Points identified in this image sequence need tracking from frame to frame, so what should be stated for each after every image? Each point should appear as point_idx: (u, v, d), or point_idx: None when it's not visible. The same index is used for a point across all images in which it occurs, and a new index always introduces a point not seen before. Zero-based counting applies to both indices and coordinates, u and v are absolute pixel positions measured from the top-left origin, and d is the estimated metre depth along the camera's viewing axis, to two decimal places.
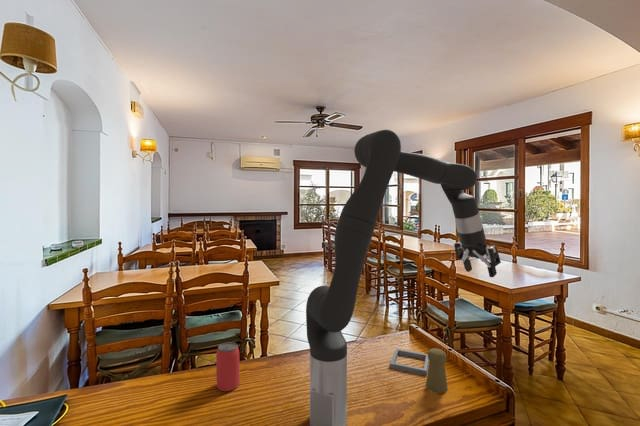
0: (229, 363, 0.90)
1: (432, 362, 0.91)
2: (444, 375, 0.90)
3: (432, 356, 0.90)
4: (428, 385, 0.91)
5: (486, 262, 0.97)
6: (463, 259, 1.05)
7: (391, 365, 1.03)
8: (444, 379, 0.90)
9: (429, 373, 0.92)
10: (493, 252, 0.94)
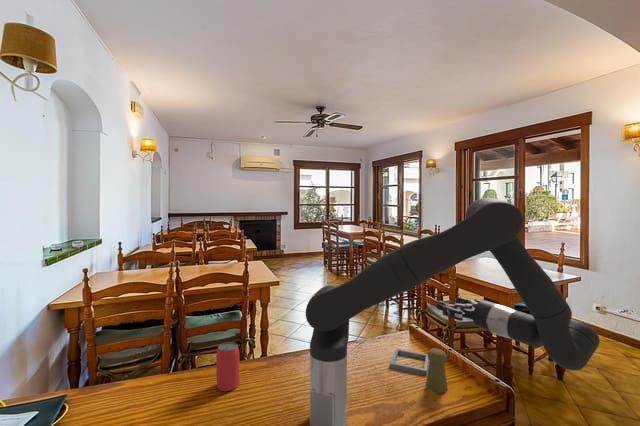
0: (229, 363, 0.90)
1: (432, 362, 0.91)
2: (444, 375, 0.90)
3: (432, 356, 0.90)
4: (428, 385, 0.91)
5: (452, 305, 0.89)
6: (470, 300, 0.93)
7: (391, 365, 1.03)
8: (444, 379, 0.90)
9: (429, 373, 0.92)
10: (456, 312, 0.84)
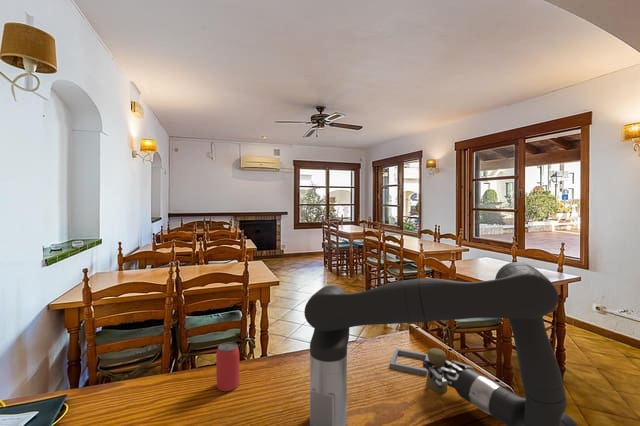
0: (229, 363, 0.90)
1: (432, 362, 0.91)
2: None
3: (432, 356, 0.90)
4: (428, 384, 0.91)
5: (437, 367, 0.88)
6: (447, 362, 0.91)
7: (391, 365, 1.03)
8: None
9: None
10: (436, 378, 0.84)
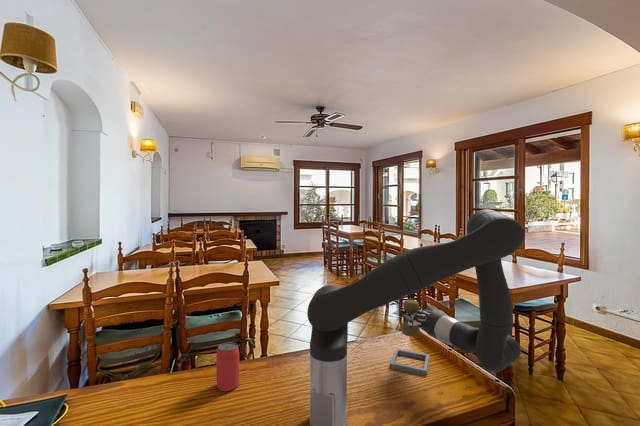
0: (229, 363, 0.90)
1: (406, 310, 1.04)
2: None
3: (406, 304, 1.04)
4: (403, 330, 1.05)
5: (410, 313, 1.02)
6: (420, 310, 1.05)
7: (391, 365, 1.03)
8: None
9: None
10: (408, 320, 0.97)
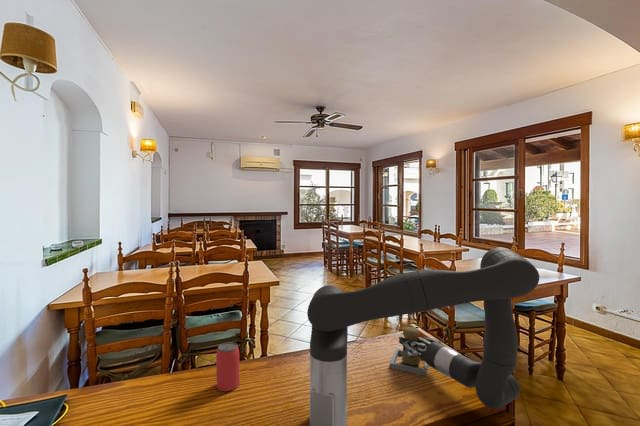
0: (229, 363, 0.90)
1: (406, 338, 1.04)
2: None
3: (406, 332, 1.04)
4: (403, 358, 1.05)
5: (410, 342, 1.02)
6: (420, 338, 1.05)
7: (391, 365, 1.03)
8: None
9: None
10: (408, 350, 0.98)
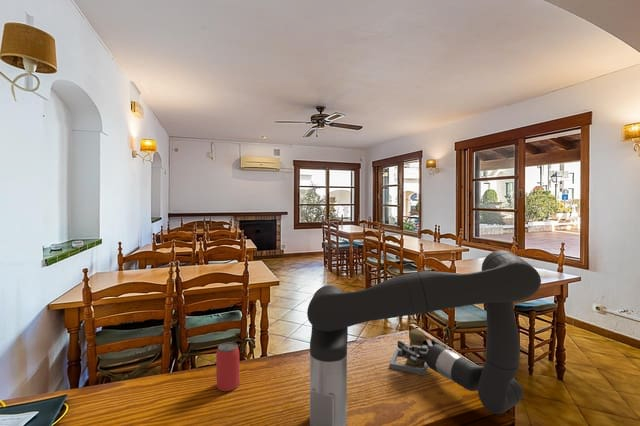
0: (229, 363, 0.90)
1: (412, 341, 1.04)
2: None
3: (412, 336, 1.04)
4: (408, 360, 1.05)
5: (409, 346, 1.00)
6: (428, 340, 1.04)
7: (391, 365, 1.03)
8: None
9: None
10: (411, 355, 0.96)
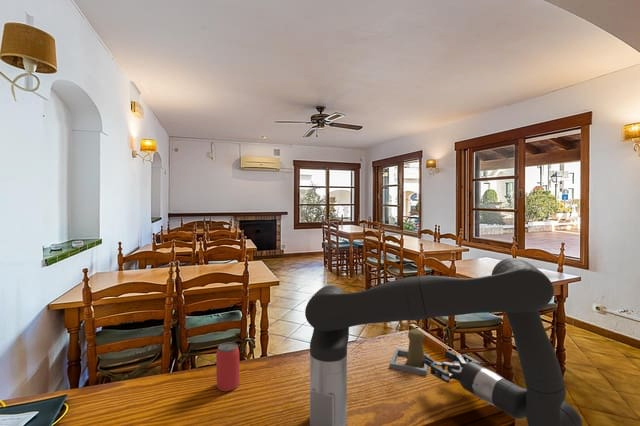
0: (229, 363, 0.90)
1: (411, 341, 1.05)
2: (422, 352, 1.04)
3: (411, 335, 1.04)
4: (408, 360, 1.05)
5: (439, 363, 0.89)
6: (458, 356, 0.94)
7: (391, 365, 1.03)
8: (422, 355, 1.04)
9: (409, 350, 1.06)
10: (443, 374, 0.85)
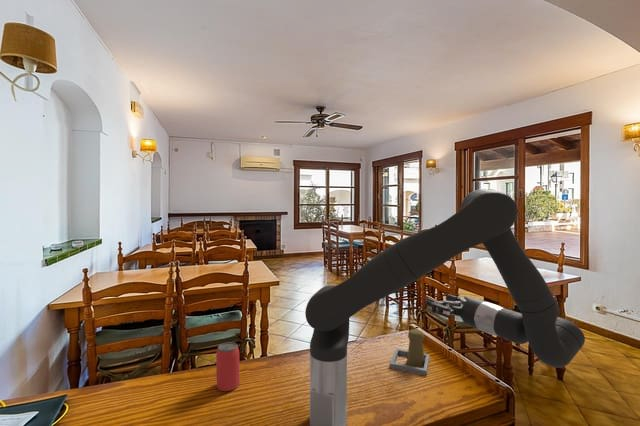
0: (229, 363, 0.90)
1: (411, 341, 1.05)
2: (422, 352, 1.04)
3: (411, 335, 1.05)
4: (408, 360, 1.05)
5: (440, 302, 0.89)
6: (460, 297, 0.93)
7: (391, 365, 1.03)
8: (422, 355, 1.04)
9: (409, 350, 1.06)
10: (444, 309, 0.84)
